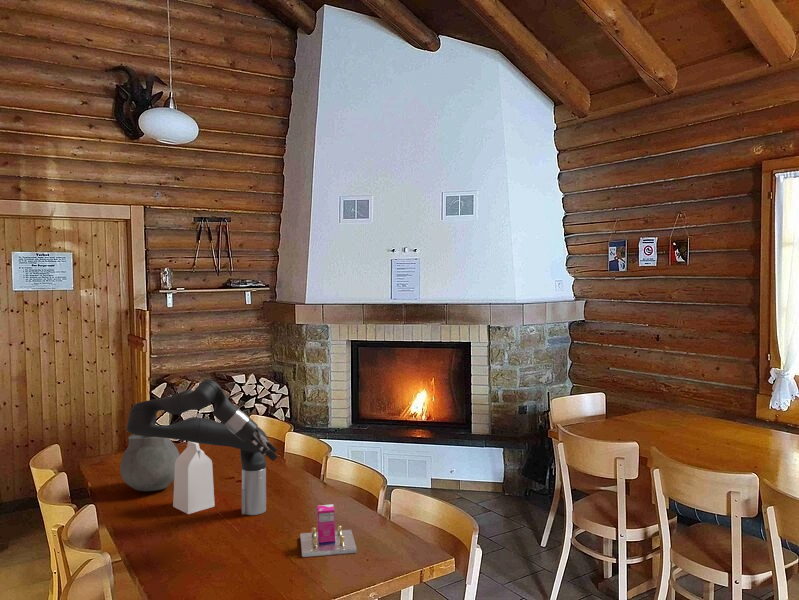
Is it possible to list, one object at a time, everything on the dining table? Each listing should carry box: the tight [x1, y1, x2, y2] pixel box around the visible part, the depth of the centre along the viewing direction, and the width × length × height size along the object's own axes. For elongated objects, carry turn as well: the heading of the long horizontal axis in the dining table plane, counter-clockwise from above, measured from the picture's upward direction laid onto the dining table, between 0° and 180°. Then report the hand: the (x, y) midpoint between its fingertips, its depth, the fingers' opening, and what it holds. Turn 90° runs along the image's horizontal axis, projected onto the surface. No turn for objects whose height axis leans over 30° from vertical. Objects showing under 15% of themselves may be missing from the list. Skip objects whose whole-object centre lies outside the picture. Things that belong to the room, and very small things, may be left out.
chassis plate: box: [299, 524, 358, 558], centre depth 213 cm, size 18×16×4 cm
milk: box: [172, 441, 216, 515], centre depth 250 cm, size 12×12×26 cm
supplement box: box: [316, 503, 336, 544], centre depth 214 cm, size 6×6×12 cm
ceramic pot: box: [119, 434, 181, 492], centre depth 270 cm, size 24×24×25 cm
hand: (275, 455), depth 219 cm, fingers open, 8 cm apart
